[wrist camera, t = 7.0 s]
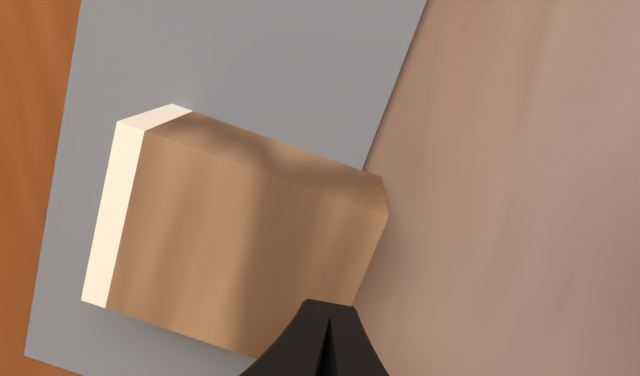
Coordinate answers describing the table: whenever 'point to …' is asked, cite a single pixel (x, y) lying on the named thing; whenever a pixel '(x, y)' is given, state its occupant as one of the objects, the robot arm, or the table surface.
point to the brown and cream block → (226, 229)
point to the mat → (211, 100)
